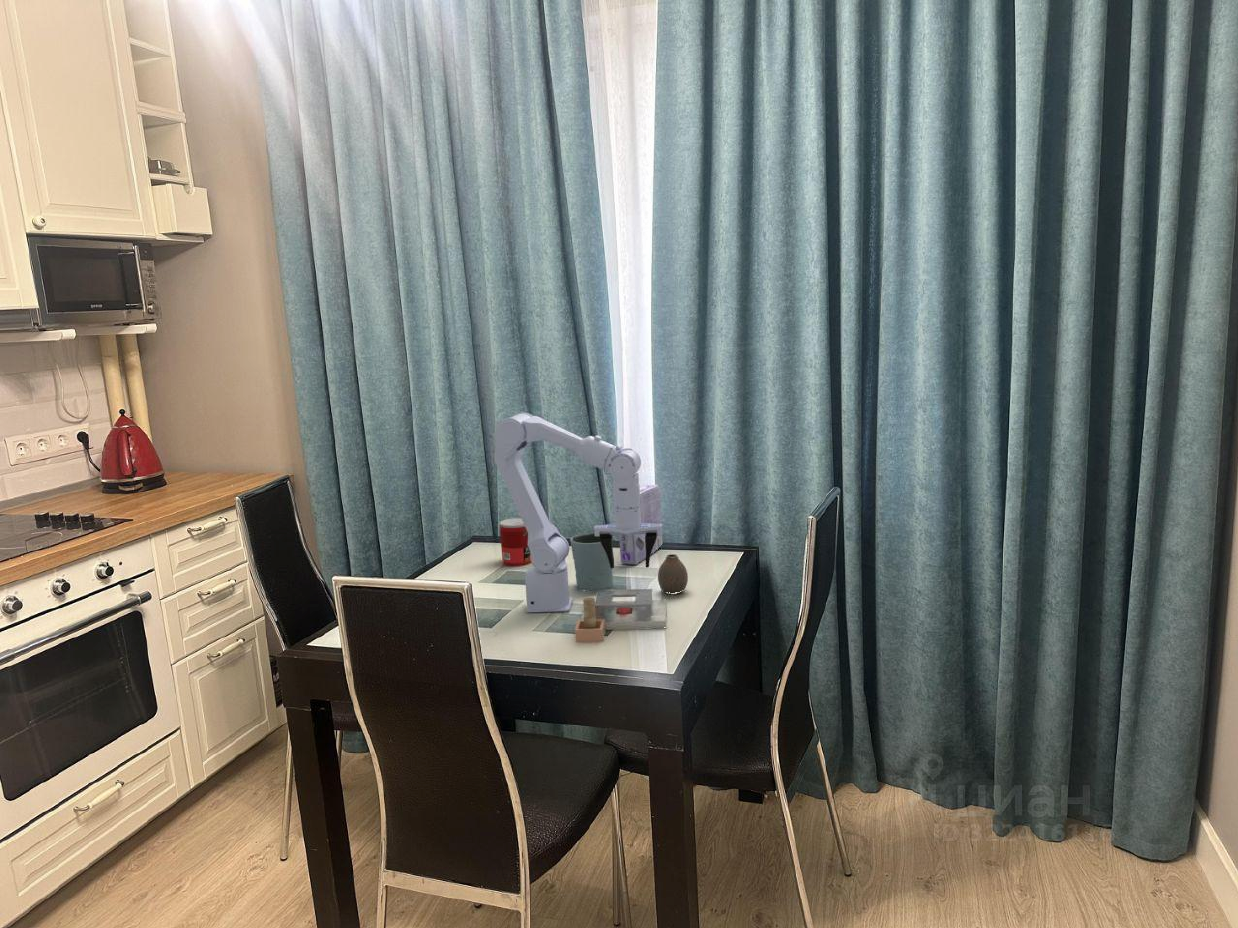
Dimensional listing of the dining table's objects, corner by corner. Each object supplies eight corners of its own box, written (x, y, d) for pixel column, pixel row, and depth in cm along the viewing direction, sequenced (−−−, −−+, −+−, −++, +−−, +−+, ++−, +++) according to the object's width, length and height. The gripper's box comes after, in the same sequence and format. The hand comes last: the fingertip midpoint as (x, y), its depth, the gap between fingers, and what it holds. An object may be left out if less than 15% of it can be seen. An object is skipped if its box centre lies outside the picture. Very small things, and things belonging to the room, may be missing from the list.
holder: (575, 641, 184) (574, 630, 184) (578, 631, 190) (577, 620, 189) (603, 641, 184) (602, 629, 183) (605, 630, 189) (604, 619, 189)
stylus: (583, 636, 186) (582, 601, 184) (585, 632, 188) (584, 597, 187) (595, 636, 186) (594, 601, 184) (597, 632, 188) (595, 597, 187)
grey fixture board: (580, 630, 190) (578, 610, 190) (585, 608, 203) (584, 589, 202) (666, 628, 189) (665, 608, 188) (666, 606, 202) (665, 587, 201)
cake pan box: (648, 545, 251) (646, 482, 248) (665, 546, 249) (663, 483, 246) (618, 565, 234) (615, 497, 231) (636, 566, 232) (633, 499, 229)
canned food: (531, 565, 237) (528, 524, 235) (500, 566, 237) (497, 526, 235) (534, 557, 244) (531, 517, 242) (504, 558, 245) (501, 518, 243)
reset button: (617, 619, 195) (617, 608, 194) (618, 614, 198) (617, 603, 197) (630, 619, 195) (630, 608, 194) (631, 614, 198) (630, 603, 197)
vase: (663, 598, 208) (662, 561, 206) (654, 589, 214) (653, 553, 213) (692, 594, 209) (691, 557, 208) (682, 585, 216) (681, 549, 214)
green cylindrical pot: (610, 593, 213) (607, 543, 211) (568, 592, 215) (565, 542, 213) (618, 579, 223) (616, 531, 220) (578, 578, 225) (576, 531, 222)
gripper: (591, 511, 193) (595, 572, 196) (660, 509, 192) (662, 571, 195) (594, 503, 200) (598, 563, 203) (661, 501, 199) (663, 561, 202)
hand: (629, 566), depth 199 cm, fingers open, 7 cm apart
